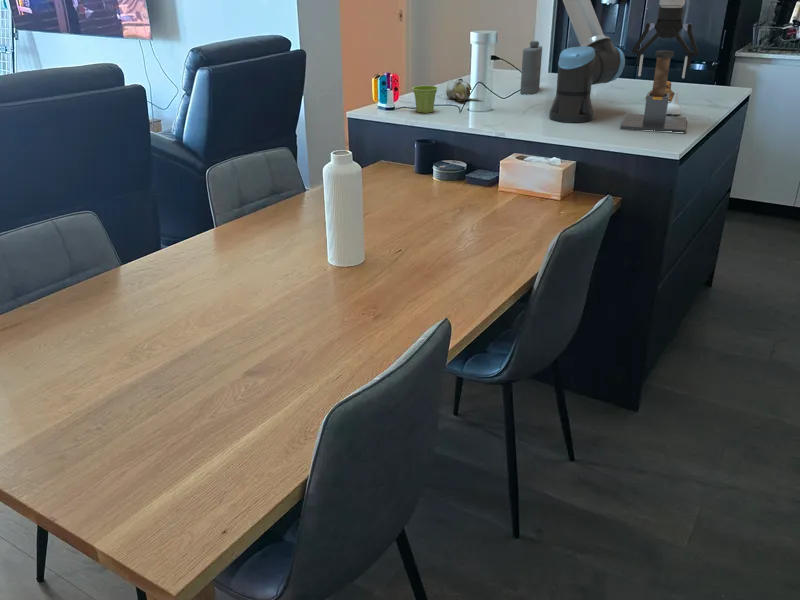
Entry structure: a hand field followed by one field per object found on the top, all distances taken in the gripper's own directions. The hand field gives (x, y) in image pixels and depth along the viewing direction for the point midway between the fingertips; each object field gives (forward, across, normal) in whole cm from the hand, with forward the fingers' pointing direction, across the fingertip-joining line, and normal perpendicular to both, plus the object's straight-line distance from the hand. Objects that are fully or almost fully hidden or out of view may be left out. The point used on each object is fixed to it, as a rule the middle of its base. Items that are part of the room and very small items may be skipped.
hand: (661, 76), depth 228 cm
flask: (+16, -52, +48) cm, 73 cm away
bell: (+16, 0, +46) cm, 49 cm away
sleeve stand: (+16, 0, 0) cm, 16 cm away
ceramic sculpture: (+16, -75, +22) cm, 79 cm away
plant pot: (+16, -81, -3) cm, 83 cm away
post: (+14, 0, 0) cm, 14 cm away
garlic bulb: (+16, +5, +19) cm, 25 cm away
